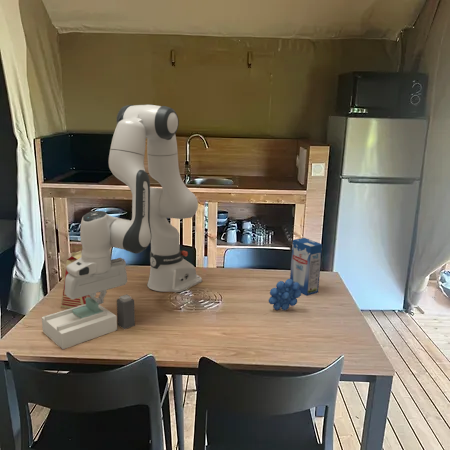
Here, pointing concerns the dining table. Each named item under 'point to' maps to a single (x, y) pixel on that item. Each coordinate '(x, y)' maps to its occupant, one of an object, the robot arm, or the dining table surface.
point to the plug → (125, 312)
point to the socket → (77, 326)
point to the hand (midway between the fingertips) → (98, 303)
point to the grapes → (284, 294)
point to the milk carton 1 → (65, 300)
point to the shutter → (88, 309)
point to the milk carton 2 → (306, 265)
